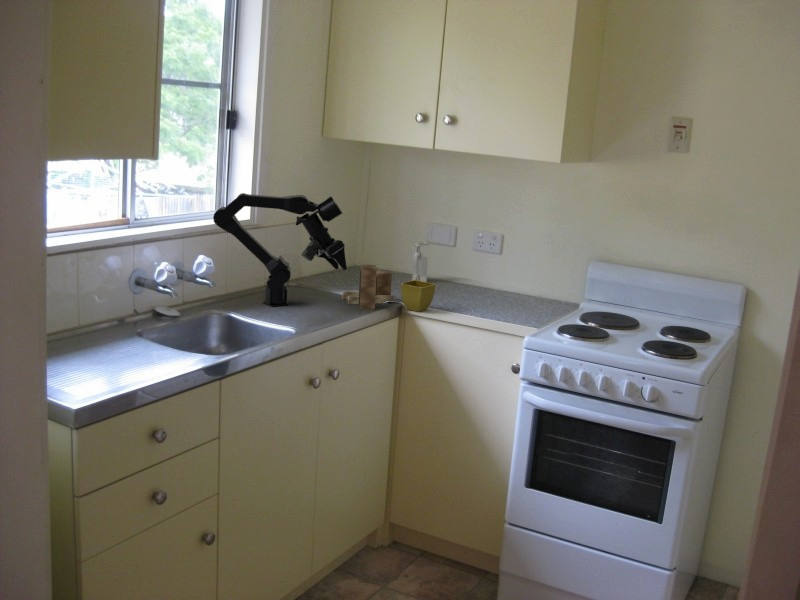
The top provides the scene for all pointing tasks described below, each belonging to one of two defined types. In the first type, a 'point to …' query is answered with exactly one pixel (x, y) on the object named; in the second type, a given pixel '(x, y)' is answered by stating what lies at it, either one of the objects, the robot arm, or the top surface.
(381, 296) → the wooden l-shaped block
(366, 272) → the finger block
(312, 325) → the top surface
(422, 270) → the soap dispenser bottle
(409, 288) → the flower pot
